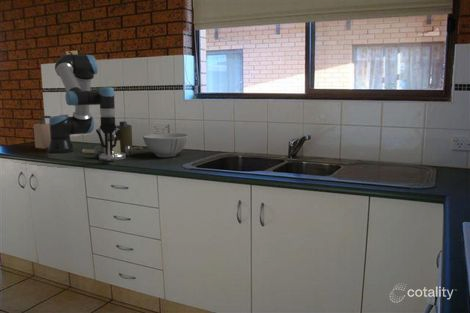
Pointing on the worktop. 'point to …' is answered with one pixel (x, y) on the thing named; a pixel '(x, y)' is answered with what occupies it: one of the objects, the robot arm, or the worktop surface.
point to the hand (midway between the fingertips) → (109, 159)
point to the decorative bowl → (165, 143)
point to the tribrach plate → (117, 157)
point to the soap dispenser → (42, 134)
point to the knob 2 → (131, 149)
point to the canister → (124, 135)
